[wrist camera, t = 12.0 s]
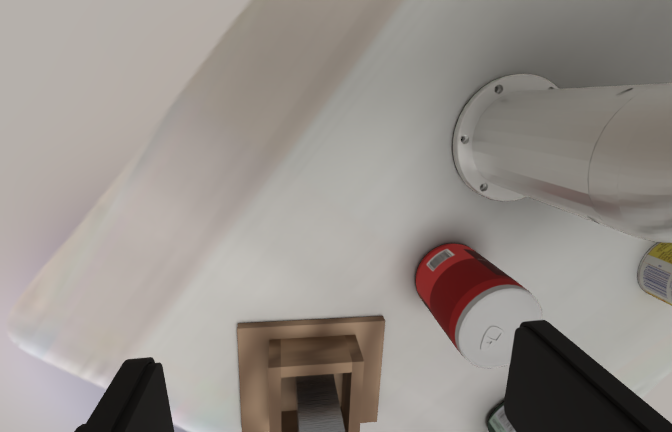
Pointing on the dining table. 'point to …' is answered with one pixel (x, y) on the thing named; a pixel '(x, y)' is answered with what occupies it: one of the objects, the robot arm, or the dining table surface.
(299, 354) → the well block
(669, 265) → the canned food
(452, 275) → the canned food
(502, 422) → the coffee jar
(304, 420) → the grey boxy piece
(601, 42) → the dining table surface
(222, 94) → the dining table surface
